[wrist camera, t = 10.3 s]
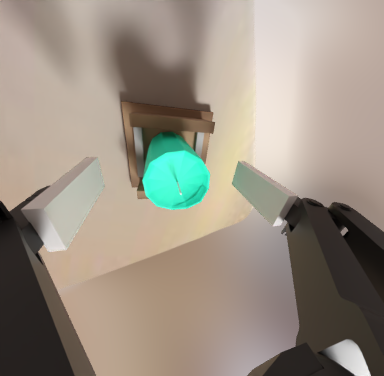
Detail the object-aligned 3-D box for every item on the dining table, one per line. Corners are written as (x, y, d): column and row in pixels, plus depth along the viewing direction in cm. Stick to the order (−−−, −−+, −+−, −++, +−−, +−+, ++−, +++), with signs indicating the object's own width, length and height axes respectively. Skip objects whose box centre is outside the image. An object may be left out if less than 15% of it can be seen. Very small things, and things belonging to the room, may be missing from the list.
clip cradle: (122, 101, 17) (109, 98, 12) (211, 112, 20) (229, 113, 15) (132, 184, 23) (126, 205, 18) (200, 183, 26) (210, 201, 21)
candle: (195, 150, 22) (230, 187, 12) (171, 177, 23) (182, 231, 13) (166, 121, 19) (177, 137, 9) (139, 154, 20) (123, 200, 10)
